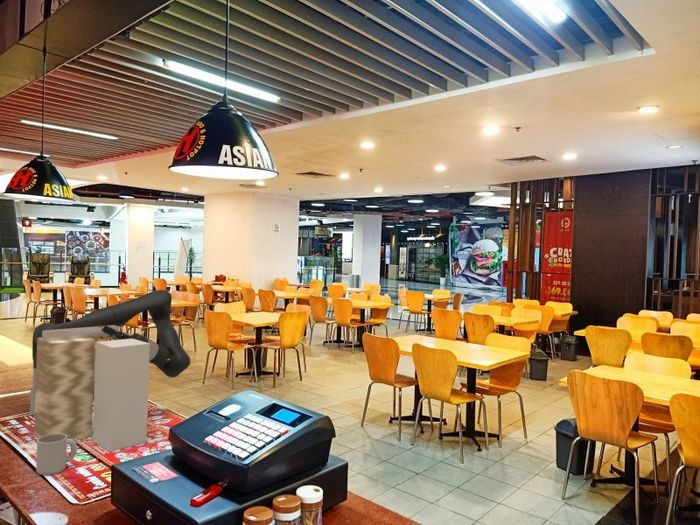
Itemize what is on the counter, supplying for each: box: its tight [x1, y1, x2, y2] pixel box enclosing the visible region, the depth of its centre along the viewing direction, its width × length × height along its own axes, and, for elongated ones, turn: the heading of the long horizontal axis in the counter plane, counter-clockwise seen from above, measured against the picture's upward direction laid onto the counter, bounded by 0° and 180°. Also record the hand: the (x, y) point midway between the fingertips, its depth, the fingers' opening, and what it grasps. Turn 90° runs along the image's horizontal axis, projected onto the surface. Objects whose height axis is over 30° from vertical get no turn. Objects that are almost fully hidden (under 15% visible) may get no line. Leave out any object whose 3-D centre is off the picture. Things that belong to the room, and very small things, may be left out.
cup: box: [35, 434, 78, 476], centre depth 145 cm, size 7×10×9 cm
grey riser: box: [92, 339, 150, 453], centre depth 167 cm, size 12×12×32 cm
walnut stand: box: [33, 338, 96, 441], centre depth 170 cm, size 13×13×32 cm
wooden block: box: [42, 325, 120, 342], centre depth 173 cm, size 23×4×3 cm, turn 138°
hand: (101, 327), depth 178 cm, fingers closed on wooden block, 4 cm apart
